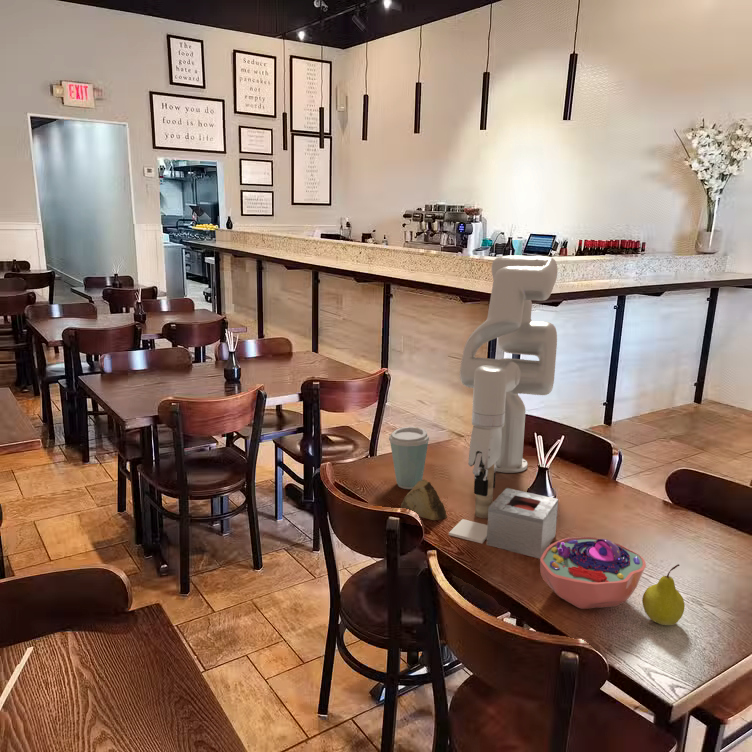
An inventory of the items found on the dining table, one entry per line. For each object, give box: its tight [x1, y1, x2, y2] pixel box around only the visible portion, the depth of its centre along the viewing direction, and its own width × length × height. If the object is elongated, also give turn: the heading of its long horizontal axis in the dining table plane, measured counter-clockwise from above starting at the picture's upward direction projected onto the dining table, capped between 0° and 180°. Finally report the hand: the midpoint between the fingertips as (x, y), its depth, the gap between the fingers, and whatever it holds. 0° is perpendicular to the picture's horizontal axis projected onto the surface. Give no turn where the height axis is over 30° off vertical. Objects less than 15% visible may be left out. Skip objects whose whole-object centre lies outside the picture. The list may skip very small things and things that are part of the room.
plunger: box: [513, 505, 534, 511], centre depth 146 cm, size 5×5×3 cm
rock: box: [400, 479, 448, 521], centre depth 160 cm, size 11×9×10 cm
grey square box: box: [486, 487, 559, 560], centre depth 146 cm, size 12×12×9 cm
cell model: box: [539, 536, 647, 610], centre depth 124 cm, size 17×20×11 cm
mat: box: [448, 518, 488, 545], centre depth 151 cm, size 8×8×1 cm
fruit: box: [641, 563, 685, 626], centre depth 117 cm, size 7×7×12 cm
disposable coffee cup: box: [388, 426, 430, 490], centre depth 175 cm, size 11×11×15 cm
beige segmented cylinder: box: [474, 464, 495, 519], centre depth 158 cm, size 4×4×16 cm
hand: (484, 490), depth 158 cm, fingers open, 4 cm apart
